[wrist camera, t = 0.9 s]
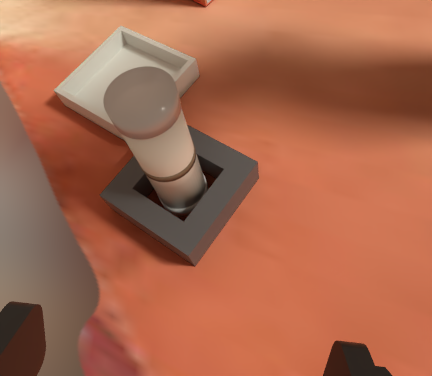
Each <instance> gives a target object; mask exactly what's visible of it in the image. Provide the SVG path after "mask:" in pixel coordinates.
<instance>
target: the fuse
mask: <svg viewBox="0 0 432 376" xmlns="http://www.w3.org/2000/svg"><path fill="white" fill-rule="evenodd" d="M103 104H104V109H105V111H106V113H107V115H108V116H109V118H110V119H111V121H112V123H113V124H114V126H115V128H116V129H117V130H118V131H119V132H120V133H121V135H122V136H123V138H124V140H125V141H126V143H127V145H128V146H129V148H130V149H131V151H132V153H133V154H134V156H135V158H136V159H137V161H138V163H139V165H140V167H141V169H142V171H143V172H144V174H145V175H146V176H147V178H148V179H149V181H150V183H151V184H152V186H153V188H154V189H155V191H156V193H157V195H158V198H159V200H160V201H161V203H162V205H163V206H164V208H165V209H166V210H167V211H168V212H170V213H171V214H173V215H175V216H181V217H184V216H189V214H190V213H191V212H192V210H193V209H194V208H195V206H196V205H197V204H198V202H199V201H200V200H201V199H202V197H203V196H204V195H205V193H206V192H207V191H208V189H209V188H208V184H207V181H206V178H205V176H204V174H203V173H202V169H201V166H200V163H199V160H198V157H197V154H196V149H195V146H194V143H193V140H192V139H191V136H190V133H189V129H188V126H187V123H186V120H185V117H184V114H183V111H182V108H181V100H180V97H179V94H178V90H177V87H176V84H175V82H174V79H173V78H172V76H171V75H170V74H169V73H167V72H166V71H164V70H162V69H160V68H157V67H151V66H144V67H137V68H133V69H130V70H128V71H126V72H124V73H122V74H120V75H119V76H118V77H116V78H115V79H114V80H113V81H112V82H111V83H110V85H109V86H108V87H107V89H106V91H105V94H104V98H103Z"/></svg>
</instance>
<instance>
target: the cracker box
mask: <svg viewBox="0 0 432 376" xmlns="http://www.w3.org/2000/svg"><path fill="white" fill-rule="evenodd" d="M193 1H195V2H197V3H199V4H201V5H203V6H205V7H206V6H207V5H208V4H210V3H211V2H212V1H213V0H193Z"/></svg>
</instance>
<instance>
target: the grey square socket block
mask: <svg viewBox="0 0 432 376" xmlns="http://www.w3.org/2000/svg"><path fill="white" fill-rule="evenodd" d="M187 126H188V125H187ZM188 129H189V133H190V136H191V139H192V140H193V143H194V146H195V149H196V154H197V157H198V160H199V163H200V166H201V169H202V171H204V172H206V173H208V174H209V175H211V176H213V177H215V178H216V180H215V182H214V183H213V184H212V185H211V187H210V188H209V189H208V191H207V192H206V193H205V195H204V196H203V197H202V199H201V200H200V201H199V202H198V204H197V205H196V206H195V208H194V209H193V210H192V212H191V213H190V214H189V216H188V217H187V218H186V219H185V221H182V220H180V219H179V218H177V217H176V216H174V215H173V214H171V213H170V212H168V211H166V210H165V209H163V208H162V207H160V206H159V205H157V204H156V203H154V202H153V201H151V200H149V199H148V198H147V196H148V195H149V194H150V193H151V192H152V190H153V189H154V188H153V186H152V184H151V183H150V181H149V179H148V178H147V176H146V175H145V174H144V172H143V171H142V169H141V167H140V165H139V163H138V161H137V159H136V158H135V156H133V157H132V159H131V160H130V161H129V162H128V163H127V164H126V165H125V167H124V168H123V169H122V170H121V171H120V172H119V173H118V175H117V176H116V177H115V178H114V179H113V180H112V181H111V183H110V184H109V185H108V186H107V187H106V188H105V189H104V190H103V192H102V193H101V194H100V197H101V198H102V199H103V200H104V201H105V202H106V203H107V204H108V205H109V206H110V207H111V209H113V210H114V211H116V212H117V213H118V214H120V215H121V216H123V217H124V218H126V219H127V220H129V221H130V222H131V223H133V224H134V225H136V226H137V227H139V228H140V229H142V230H143V231H145V232H146V233H147V234H149V235H150V236H152V237H153V238H155V239H156V240H158V241H159V242H160V243H162V244H163V245H165V246H166V247H168V248H169V249H171V250H172V251H174V252H175V253H176V254H178V255H179V256H181V257H182V258H184V259H185V260H187V261H188V262H189V263H191V264H192V265H194V266H196V265H197V263H198V262H199V261H200V259H201V258H202V256H203V255H204V254H205V252H206V251H207V249H208V248H209V247H210V245H211V244H212V242H213V241H214V240H215V238H216V237H217V236H218V234H219V233H220V231H221V230H222V229H223V227H224V226H225V224H226V223H227V222H228V220H229V219H230V218H231V216H232V215H233V213H234V212H235V211H236V209H237V208H238V206H239V205H240V204H241V202H242V201H243V200H244V198H245V197H246V195H247V194H248V193H249V191H250V190H251V188H252V187H253V186H254V184H255V183H256V182H257V180H258V179H259V175H258V162H257V161H255V160H253V159H251V158H249V157H247V156H245V155H244V154H242V153H240V152H238V151H236V150H234V149H232V148H230V147H228V146H226V145H225V144H223V143H221V142H219V141H217V140H215V139H213V138H211V137H209V136H207V135H206V134H204V133H202V132H200V131H198V130H196V129H194V128H192V127H190V126H188Z"/></svg>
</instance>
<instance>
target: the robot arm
mask: <svg viewBox="0 0 432 376" xmlns="http://www.w3.org/2000/svg"><path fill="white" fill-rule="evenodd" d="M45 351H46V342H45V332H44V321H43V312H42V307H41V306H40V305H38V304H29V303H21V302H9V303H8V304H7V305H6V306H5V307H4V308H3V309H2V311H1V312H0V376H37V374H38V372H39V370H40V368H41V366H42V363H43V360H44V356H45ZM323 376H392V375H391V374H390V372H389V371H388V370H387V369H386V368H385V367H379V366H375V365H374V362H373V360H372V357H371V355H370V352H369V350H368V348H367V346H366V345H365V344H361V343H353V342H344V341H335V342H334V344H333V346H332V349H331V352H330V355H329V358H328V361H327V365H326V368H325V371H324V374H323Z"/></svg>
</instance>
